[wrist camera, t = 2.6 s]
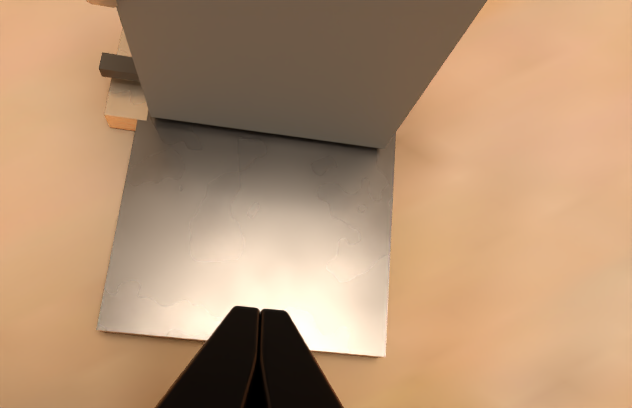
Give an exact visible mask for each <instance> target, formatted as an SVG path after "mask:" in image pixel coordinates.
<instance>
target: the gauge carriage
mask: <svg viewBox="0 0 632 408" xmlns="http://www.w3.org/2000/svg"><path fill="white" fill-rule="evenodd" d="M86 1H87V2H89V3H90V4H94V5H100V6H107V7H113V8H114V7H116V8H117V11H118V14H119V17H120V20H121V24H122V27H123V30H124V33H125V36H126V39H127V43H128V46H129V49H130V52H131V55H132V57H128V56H122V55H115V54H108V53H102V56H101V61H100V65H99V70H100V73H101V75H102V76H104V77H111V78H118V79H125V80H132V81H139V82H140V84H141V87H142V90H143V93H144V96H145V100H146V103H147V106H148V109H149V112H150V116H151V117H156V118H163V119H170V120H178V121H185V122H192V123H200V124H207V125H214V126H221V127H229V128H236V129H243V130H250V131H258V132H265V133H272V134H280V135H287V136H294V137H301V138H309V139H316V140H323V141H330V142H338V143H345V144H352V145H360V146H367V147H374V148H381V149H384V148H385V147H386V145H387V144H388V142H389V141H390V140H391V138H392V137H393V135H394V134H395V132H396V131H397V129H398V128H399V127H400V125H401V124H402V122H403V121H404V119H405V118H406V117H407V115H408V114H409V112H410V111H411V109H412V108H413V106H414V105H415V104H416V102H417V101H418V99H419V98H420V96H421V95H422V93H423V92H424V91H425V89H426V88H427V86H428V85H429V83H430V82H431V81H432V79H433V78H434V76H435V75H436V73H437V72H438V70H439V69H440V68H441V66H442V65H443V63H444V62H445V60H446V59H447V57H448V56H449V55H450V53H451V52H452V50H453V49H454V47H455V46H456V44H457V43H458V42H459V40H460V39H461V37H462V36H463V34H464V33H465V32H466V30H467V29H468V27H469V26H470V24H471V23H472V21H473V20H474V19H475V17H476V16H477V14H478V13H479V11H480V10H481V8H482V7H483V6H484V4H485V3H486V1H487V0H86Z"/></svg>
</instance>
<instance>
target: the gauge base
mask: <svg viewBox="0 0 632 408" xmlns="http://www.w3.org/2000/svg"><path fill="white" fill-rule="evenodd" d="M117 55H122V56H128V57H132V55H131V52H130V49H129V46H128V43H127V39H126V36H125V33H124V30H123V29H122V33H121V38H120V43H119V47H118V52H117ZM104 116H105V118H106V120H107V122H108V124H109V126H110V128H118V129H125V130H133V131H135V135H134V140H133V145H132V150H131V155H130V160H129V165H128V171H127V176H126V181H125V186H124V191H123V196H122V201H121V206H120V211H119V216H118V221H117V226H116V232H115V237H114V242H113V247H112V252H111V257H110V262H109V267H108V272H107V277H106V282H105V287H104V292H103V298H102V303H101V308H100V313H99V318H98V323H97V328H96V330H98V331H101V332H108V333H119V334H129V335H140V336H151V337H162V338H172V339H183V340H194V341H204V342H206V341H207V340H208V339H209V337H210V336H211V335H212V333H213V332H214V331H215V330H216V328H217V327H218V326H219V324H220V323H221V322H222V321H223V319H224V318H225V317H226V315H227V314H228V313H229V312H230V310H231V309H232V308H233V307H234V306H246V307H256V308H258V309H259V310H260V312H261V310H262V309H265V308H266V309H276V310H284V311H286V312H288V314H289V315H290V317H291V319H292V320H293V322H294V324H295V326H296V327H297V329H298V331H299V332H300V334H301V336H302V337H303V339H304V341H305V343H306V344H307V346H308V348H309V349H310V351H312V352H322V353H333V354H344V355H355V356H365V357H376V358H380V357H386V336H387V314H388V292H389V270H390V248H391V226H392V204H393V182H394V160H395V137H396V132H395V134H394V135H393V137H392V138H391V140H390V141H389V142H388V144H387V145H386V147H385V148H384V149H381V148H374V147H367V146H360V145H352V144H345V143H338V142H330V141H323V140H316V139H309V138H301V137H294V136H287V135H280V134H272V133H265V132H258V131H250V130H243V129H236V128H229V127H221V126H214V125H207V124H200V123H192V122H185V121H178V120H170V119H163V118H156V117H151V116H150V112H149V109H148V106H147V103H146V100H145V96H144V93H143V90H142V87H141V84H140V82H139V81H132V80H125V79H118V78H112V80H111V84H110V89H109V93H108V98H107V103H106V107H105V112H104Z"/></svg>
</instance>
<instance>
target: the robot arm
mask: <svg viewBox="0 0 632 408" xmlns="http://www.w3.org/2000/svg"><path fill="white" fill-rule="evenodd" d="M155 408H344V407H343V406H342V404H341V402H340V400H339V399H338V397H337V395H336V394H335V392H334V390H333V389H332V387H331V385H330V383H329V382H328V380H327V378H326V377H325V375H324V373H323V372H322V370H321V368H320V366H319V365H318V363H317V361H316V360H315V358H314V356H313V354H312V353H311V351H310V349H309V348H308V346H307V344H306V343H305V341H304V339H303V337H302V336H301V334H300V332H299V331H298V329H297V327H296V326H295V324H294V322H293V320H292V319H291V317H290V315H289V314H288V312H286V311H284V310H276V309H266V308H265V309H262V310H261V312H260V310H259V309H258V308H256V307H246V306H234V307H233V308H232V309H231V310H230V312H229V313H228V314H227V315H226V317H225V318H224V319H223V321H222V322H221V323H220V324H219V326H218V327H217V328H216V330H215V331H214V332H213V333H212V335H211V336H210V337H209V339H208V340H207V341H206V342H205V344H204V345H203V346H202V348H201V349H200V350H199V351H198V353H197V354H196V355H195V357H194V358H193V359H192V360H191V362H190V363H189V364H188V365H187V367H186V368H185V369H184V371H183V372H182V373H181V374H180V376H179V377H178V378H177V380H176V381H175V382H174V383H173V385H172V386H171V387H170V389H169V390H168V391H167V392H166V394H165V395H164V396H163V398H162V399H161V400H160V401H159V403H158V404H157V405H156V407H155Z"/></svg>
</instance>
